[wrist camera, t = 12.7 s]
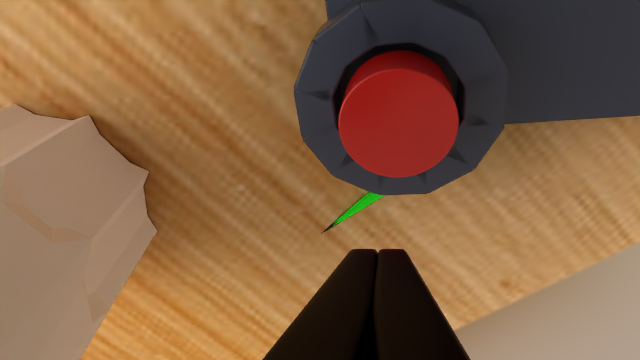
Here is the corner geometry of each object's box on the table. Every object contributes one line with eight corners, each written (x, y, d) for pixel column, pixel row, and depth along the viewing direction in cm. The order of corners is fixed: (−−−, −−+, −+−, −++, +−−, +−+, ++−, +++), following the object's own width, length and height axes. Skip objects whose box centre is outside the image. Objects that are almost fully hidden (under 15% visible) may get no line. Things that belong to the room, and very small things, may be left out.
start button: (453, 44, 13) (460, 62, 11) (452, 147, 14) (458, 175, 13) (338, 55, 13) (331, 74, 12) (350, 152, 15) (344, 180, 13)
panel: (695, -117, 12) (773, -122, 10) (636, 140, 16) (681, 185, 13) (291, -56, 14) (268, -47, 12) (324, 156, 18) (311, 198, 16)
